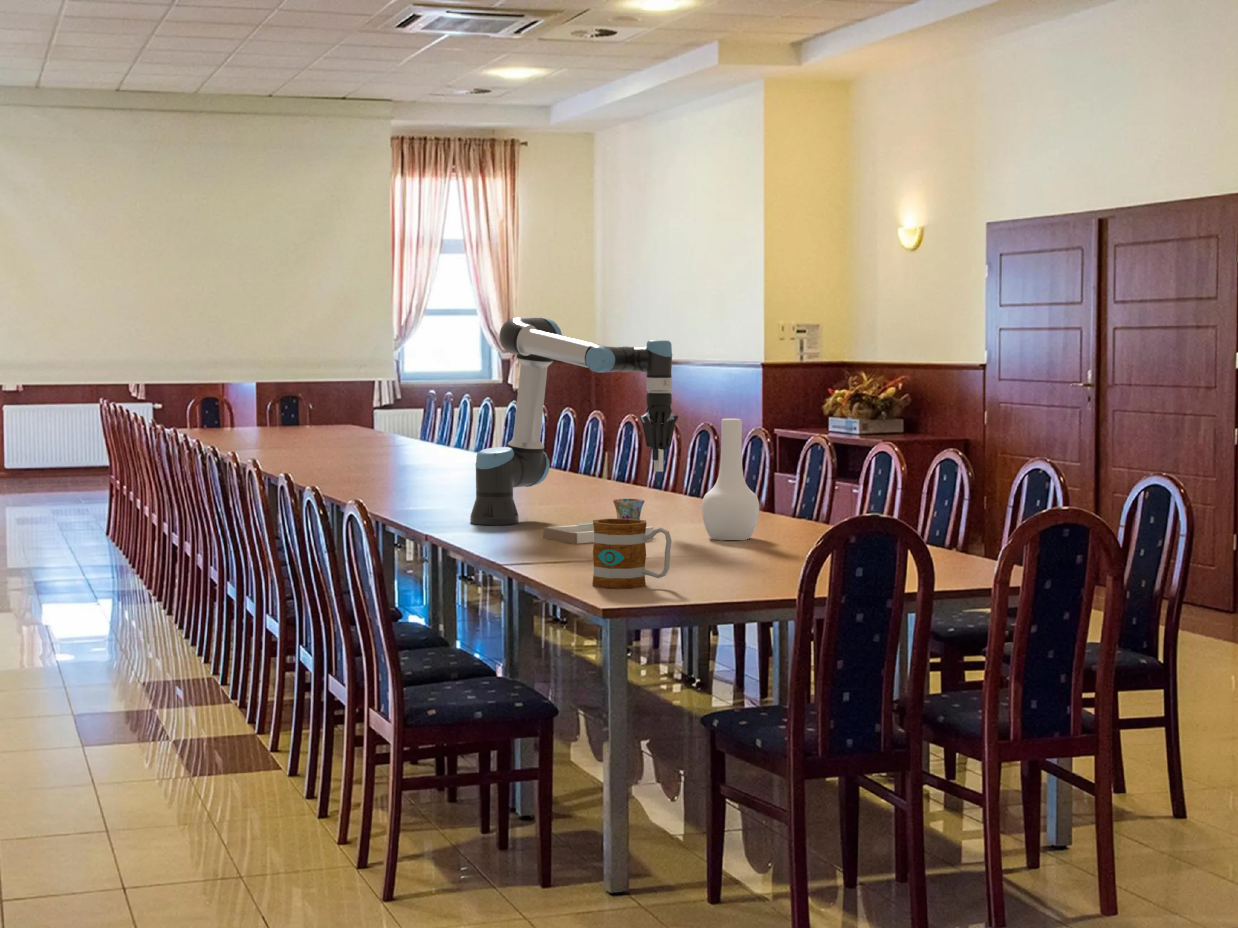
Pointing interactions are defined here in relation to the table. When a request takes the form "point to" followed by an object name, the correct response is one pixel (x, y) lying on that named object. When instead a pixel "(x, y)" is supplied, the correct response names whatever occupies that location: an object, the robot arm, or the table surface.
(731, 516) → the vase
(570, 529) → the teal-striped rail frame
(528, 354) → the robot arm
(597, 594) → the table surface
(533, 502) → the table surface
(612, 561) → the mug
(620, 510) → the mug
